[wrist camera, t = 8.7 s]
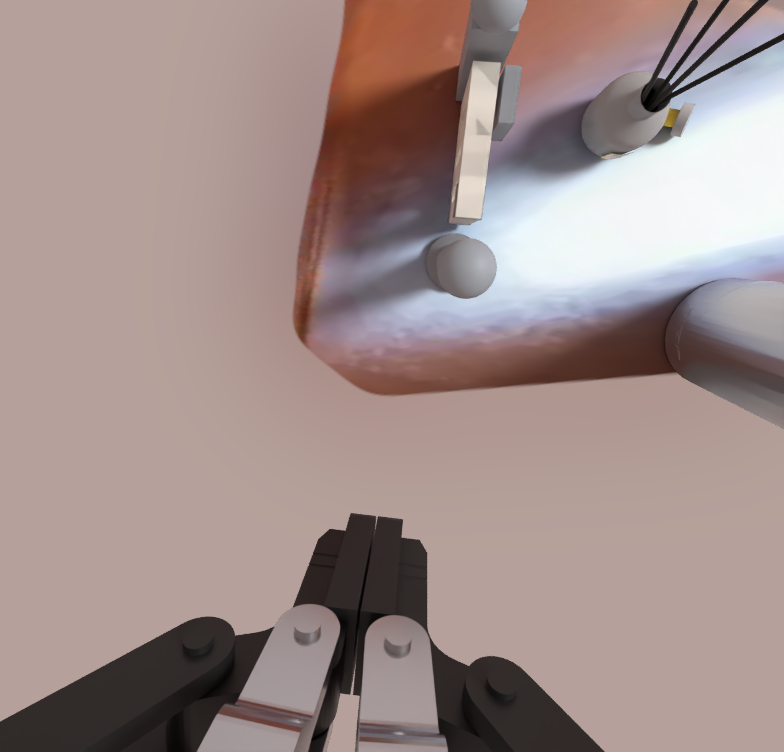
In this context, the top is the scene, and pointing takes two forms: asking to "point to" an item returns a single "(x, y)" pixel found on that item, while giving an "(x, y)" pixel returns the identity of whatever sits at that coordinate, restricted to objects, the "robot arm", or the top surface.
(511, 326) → the top surface
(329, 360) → the top surface
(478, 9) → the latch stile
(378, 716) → the robot arm
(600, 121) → the reed diffuser
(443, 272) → the hinge post
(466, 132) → the gate
